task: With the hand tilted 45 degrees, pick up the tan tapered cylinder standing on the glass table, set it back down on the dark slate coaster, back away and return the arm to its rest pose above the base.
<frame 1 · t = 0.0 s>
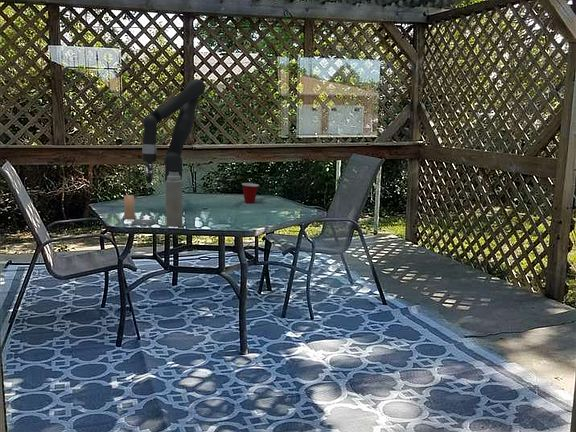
hand: (148, 182, 338), 17 cm above the table, tool pointing down, fingers open, 8 cm apart
coaster: (144, 222, 314), on the table
thermos bottle: (174, 225, 310), on the table
tan tapered cylinder: (129, 218, 325), on the table
plastic cup: (250, 203, 385), on the table
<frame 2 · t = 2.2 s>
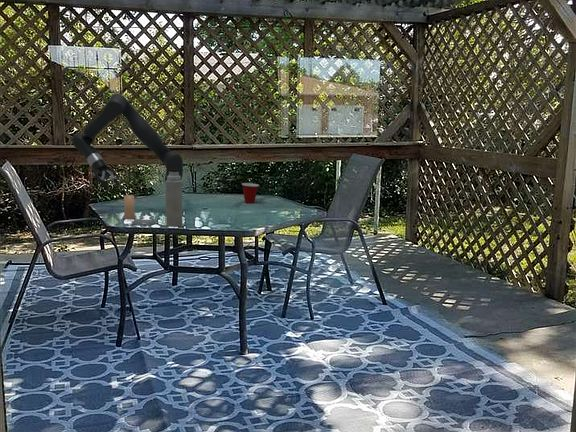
hand: (112, 186, 328), 16 cm above the table, tool tilted 45°, fingers open, 8 cm apart
nothing on the table moved.
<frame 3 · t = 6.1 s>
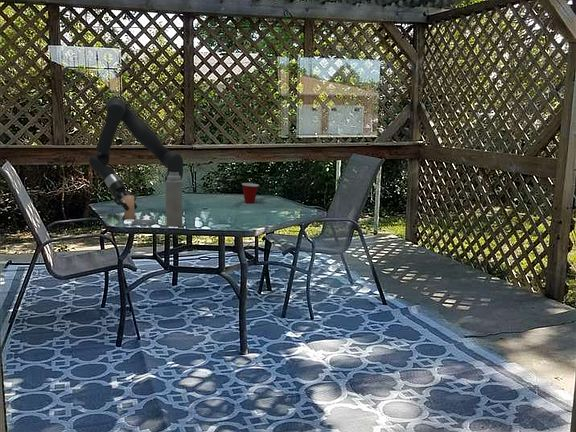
hand: (131, 209, 323), 5 cm above the table, tool tilted 45°, fingers closed on tan tapered cylinder, 5 cm apart
tan tapered cylinder: (129, 218, 325), on the table, touching gripper
everything else where it was.
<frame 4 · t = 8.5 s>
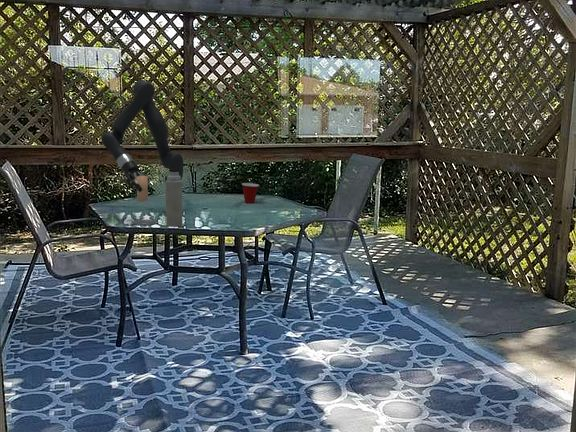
hand: (145, 190, 310), 17 cm above the table, tool tilted 45°, fingers closed on tan tapered cylinder, 5 cm apart
tan tapered cylinder: (142, 199, 312), point 12 cm above the table, touching gripper
everything else where it was.
when the fingers open (7 cm above the table, at t = 11.0 s): tan tapered cylinder drops 1 cm, resting on coaster.
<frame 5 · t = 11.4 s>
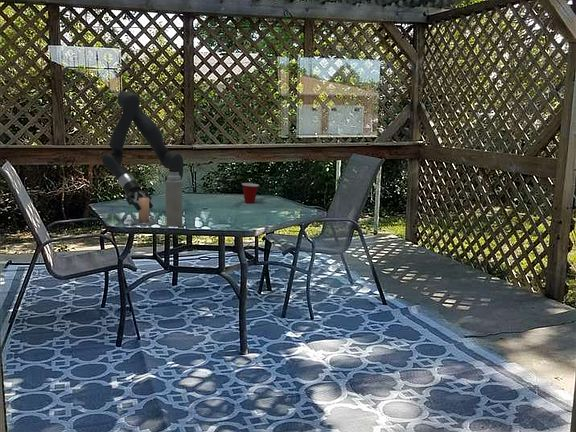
hand: (145, 208, 312), 7 cm above the table, tool tilted 45°, fingers open, 8 cm apart
tan tapered cylinder: (143, 221, 314), point 1 cm above the table, touching coaster
everything else where it was.
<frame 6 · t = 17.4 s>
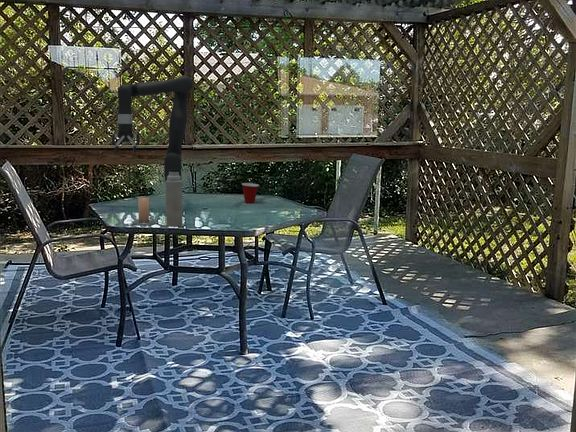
hand: (126, 153, 332), 33 cm above the table, tool pointing down, fingers open, 8 cm apart
nothing on the table moved.
at the end: tan tapered cylinder 0.1 cm from the coaster (horizontally); tan tapered cylinder tilted 0°; tan tapered cylinder point 0.6 cm above the table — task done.
